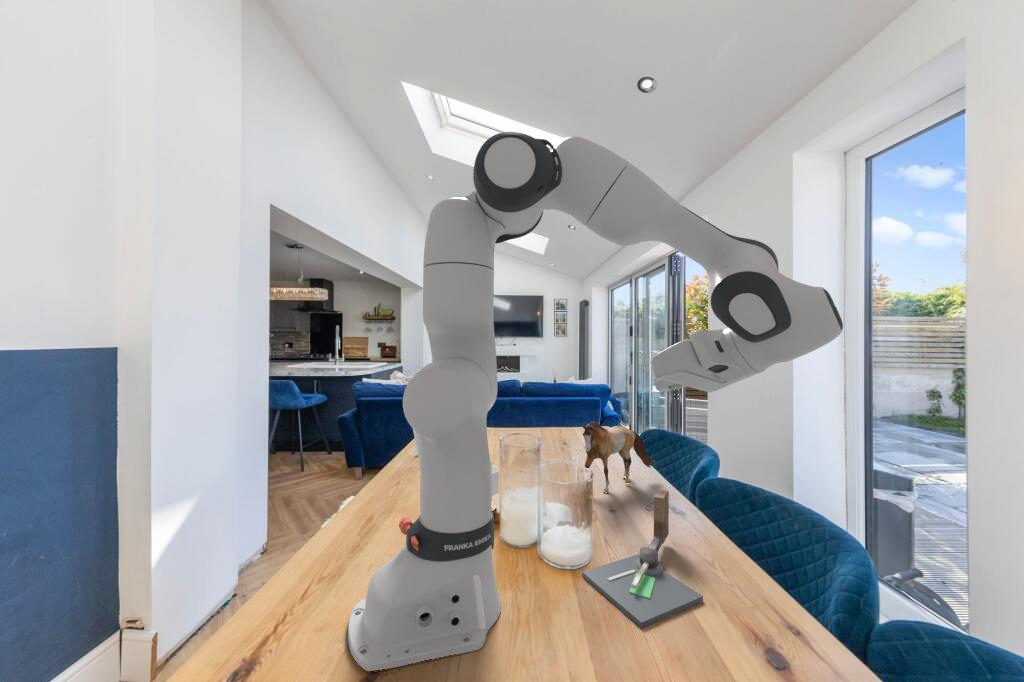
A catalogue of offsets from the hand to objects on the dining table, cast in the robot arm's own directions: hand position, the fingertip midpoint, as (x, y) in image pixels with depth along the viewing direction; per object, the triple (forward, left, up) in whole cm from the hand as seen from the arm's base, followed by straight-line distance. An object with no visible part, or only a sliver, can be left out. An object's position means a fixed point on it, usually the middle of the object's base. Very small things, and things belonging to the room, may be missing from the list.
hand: (659, 387), depth 75 cm
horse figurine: (+19, +31, -33) cm, 50 cm away
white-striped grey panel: (-9, -5, -33) cm, 35 cm away
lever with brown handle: (-3, -1, -32) cm, 32 cm away
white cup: (-22, +36, -33) cm, 54 cm away
